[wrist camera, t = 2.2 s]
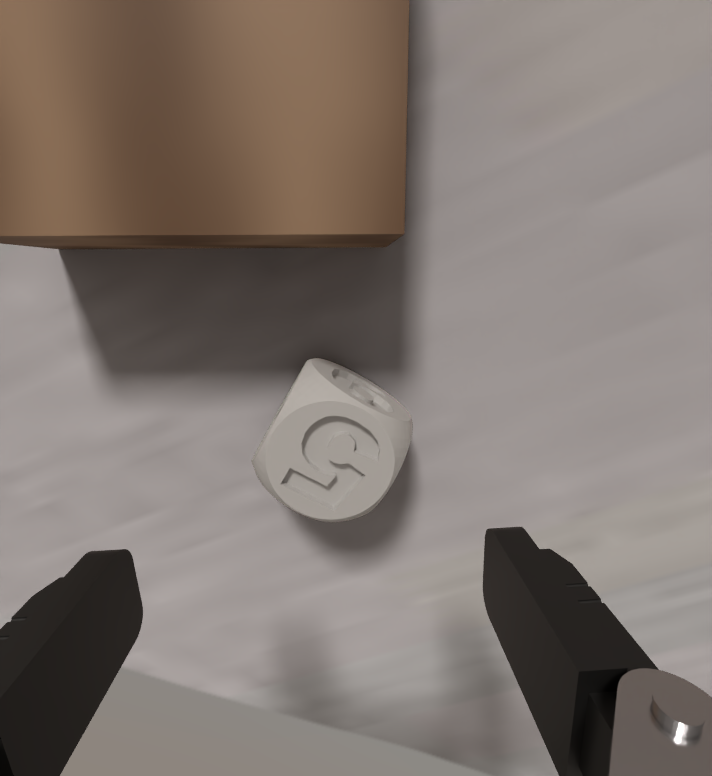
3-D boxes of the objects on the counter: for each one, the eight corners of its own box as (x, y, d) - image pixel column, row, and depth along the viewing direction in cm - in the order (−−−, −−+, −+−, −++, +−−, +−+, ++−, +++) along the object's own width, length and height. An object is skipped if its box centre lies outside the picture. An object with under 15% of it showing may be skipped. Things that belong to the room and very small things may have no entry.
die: (263, 436, 20) (238, 486, 15) (313, 348, 19) (302, 371, 14) (352, 482, 21) (355, 543, 16) (404, 399, 20) (424, 438, 15)
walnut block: (389, -167, 15) (419, -453, 9) (385, 247, 18) (404, 233, 13) (-13, -175, 14) (-253, -479, 9) (63, 249, 18) (-70, 236, 12)
